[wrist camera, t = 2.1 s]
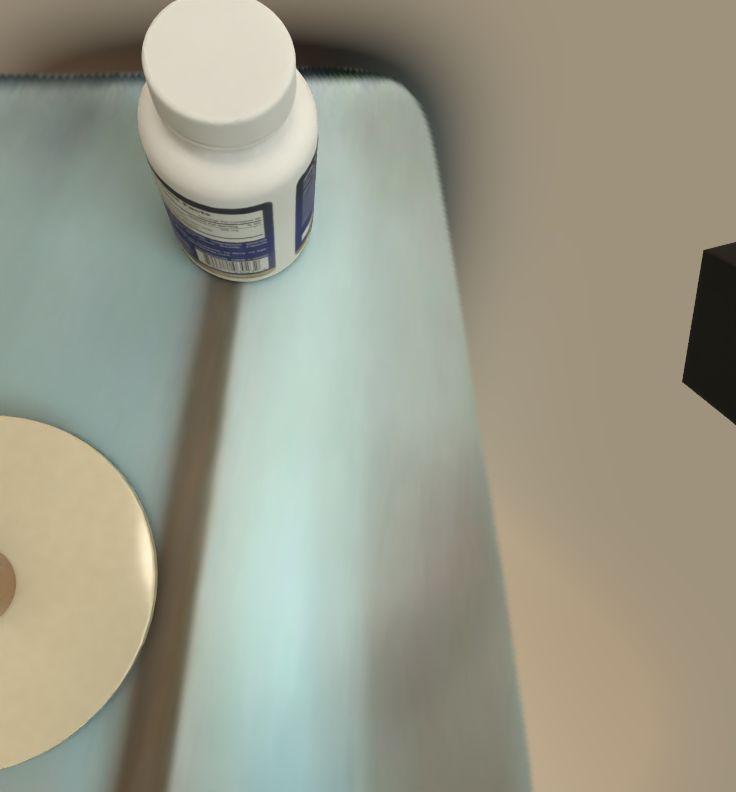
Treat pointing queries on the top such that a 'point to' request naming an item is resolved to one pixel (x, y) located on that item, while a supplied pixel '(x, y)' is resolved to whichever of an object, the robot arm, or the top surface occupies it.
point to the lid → (65, 585)
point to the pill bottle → (229, 135)
